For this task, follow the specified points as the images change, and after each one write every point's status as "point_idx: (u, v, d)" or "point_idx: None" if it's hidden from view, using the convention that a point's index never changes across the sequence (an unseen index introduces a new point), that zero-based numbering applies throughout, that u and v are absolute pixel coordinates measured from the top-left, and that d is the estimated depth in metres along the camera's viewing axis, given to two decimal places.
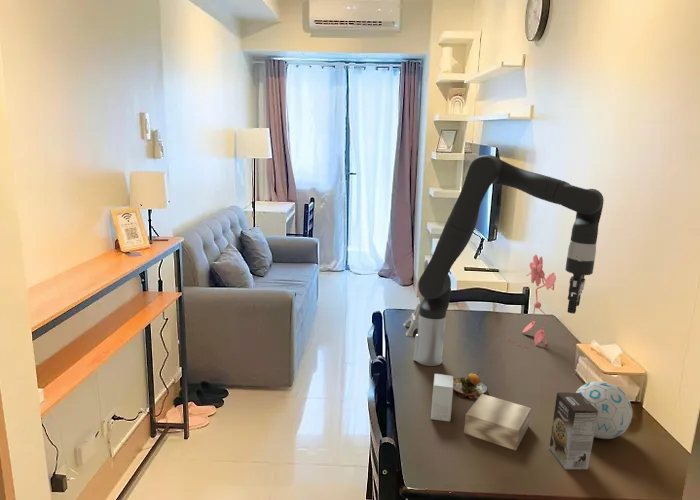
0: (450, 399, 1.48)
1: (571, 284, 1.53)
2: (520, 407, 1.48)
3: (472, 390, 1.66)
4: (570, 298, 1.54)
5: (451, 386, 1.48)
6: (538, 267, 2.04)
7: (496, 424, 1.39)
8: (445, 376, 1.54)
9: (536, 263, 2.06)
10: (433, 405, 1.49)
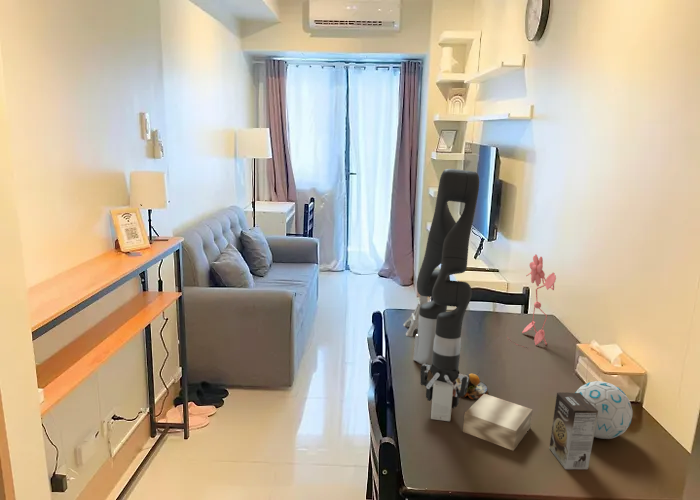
0: (450, 399, 1.48)
1: (466, 381, 1.47)
2: (521, 408, 1.47)
3: (472, 390, 1.66)
4: (464, 394, 1.48)
5: (451, 386, 1.48)
6: (538, 267, 2.04)
7: (494, 423, 1.39)
8: None
9: (536, 263, 2.06)
10: (433, 405, 1.49)
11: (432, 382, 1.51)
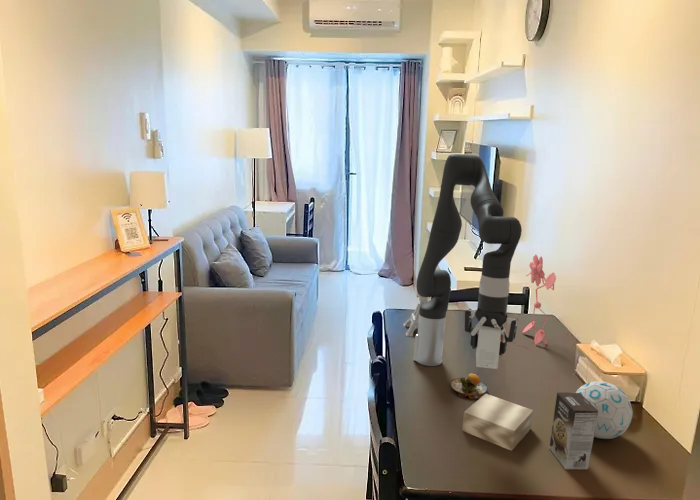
0: (498, 344, 1.38)
1: (515, 325, 1.37)
2: (522, 409, 1.47)
3: (472, 390, 1.66)
4: (513, 339, 1.38)
5: (499, 330, 1.38)
6: (538, 267, 2.04)
7: (493, 423, 1.39)
8: None
9: (536, 263, 2.06)
10: (479, 351, 1.40)
11: (478, 328, 1.42)
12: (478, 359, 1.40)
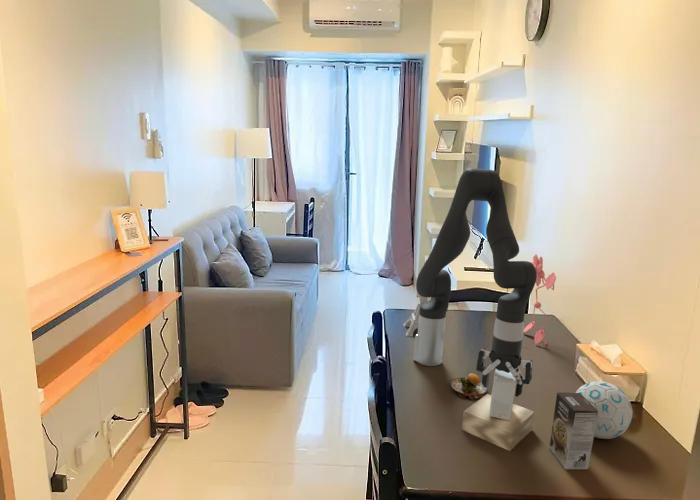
0: (512, 397, 1.39)
1: (530, 367, 1.38)
2: (523, 410, 1.46)
3: (472, 390, 1.66)
4: (529, 381, 1.39)
5: (514, 383, 1.39)
6: (538, 267, 2.04)
7: (491, 423, 1.39)
8: None
9: (536, 263, 2.06)
10: (493, 402, 1.41)
11: (490, 368, 1.43)
12: (491, 409, 1.41)
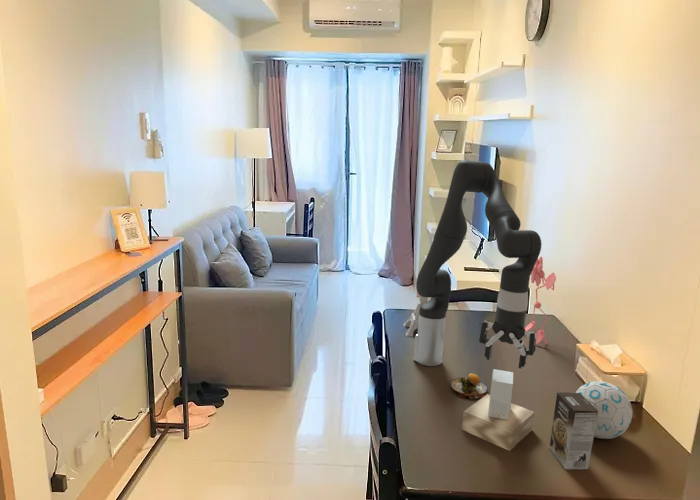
0: (509, 396, 1.39)
1: (534, 338, 1.36)
2: (523, 410, 1.47)
3: (472, 390, 1.66)
4: (533, 352, 1.37)
5: (511, 382, 1.39)
6: (538, 267, 2.04)
7: (491, 423, 1.39)
8: (504, 372, 1.45)
9: (536, 263, 2.06)
10: (491, 402, 1.41)
11: (493, 340, 1.41)
12: (490, 409, 1.42)
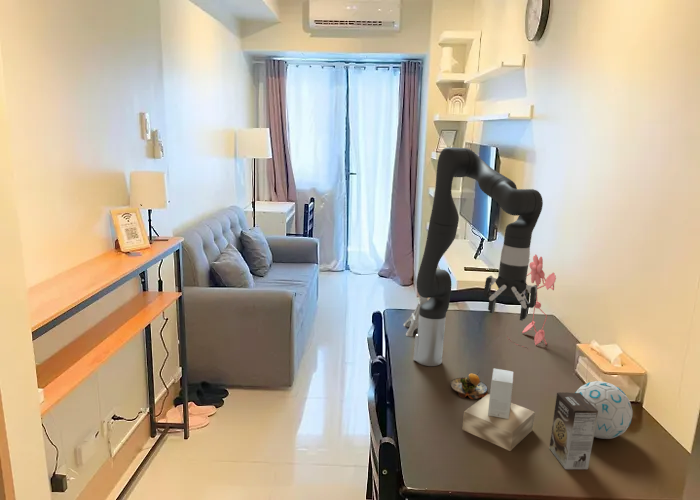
0: (509, 395, 1.40)
1: (535, 291, 1.44)
2: (523, 410, 1.46)
3: (472, 390, 1.66)
4: (534, 305, 1.46)
5: (511, 382, 1.40)
6: (538, 267, 2.04)
7: (492, 423, 1.39)
8: (504, 371, 1.46)
9: (536, 263, 2.06)
10: (491, 401, 1.41)
11: (497, 294, 1.49)
12: (490, 408, 1.42)
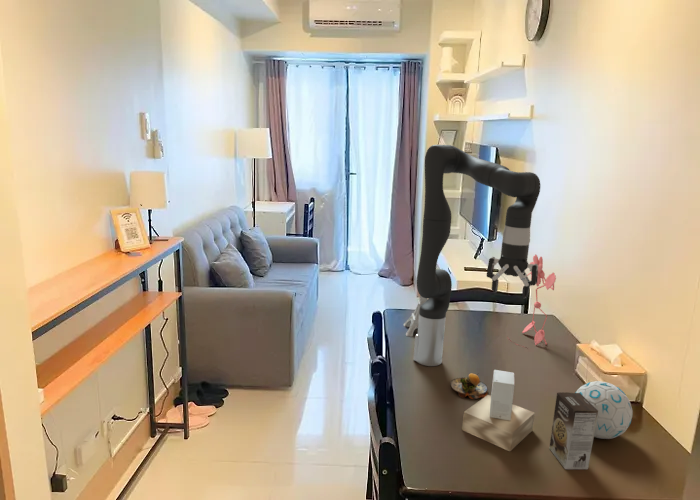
0: (511, 397, 1.39)
1: (536, 269, 1.52)
2: (523, 411, 1.46)
3: (472, 390, 1.66)
4: (535, 283, 1.53)
5: (512, 383, 1.39)
6: (538, 267, 2.04)
7: (492, 424, 1.39)
8: (505, 372, 1.45)
9: (536, 263, 2.06)
10: (492, 402, 1.41)
11: (499, 273, 1.56)
12: (491, 410, 1.41)
